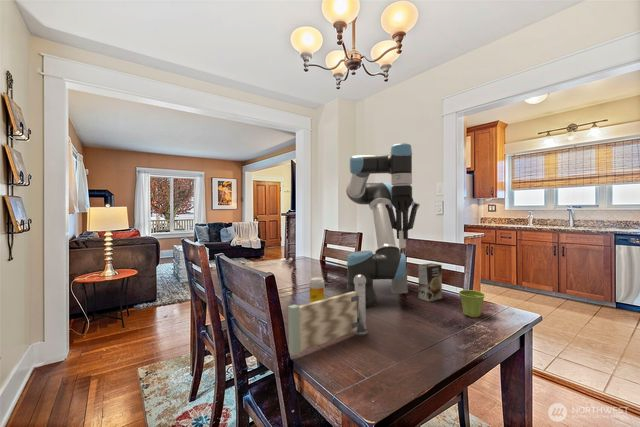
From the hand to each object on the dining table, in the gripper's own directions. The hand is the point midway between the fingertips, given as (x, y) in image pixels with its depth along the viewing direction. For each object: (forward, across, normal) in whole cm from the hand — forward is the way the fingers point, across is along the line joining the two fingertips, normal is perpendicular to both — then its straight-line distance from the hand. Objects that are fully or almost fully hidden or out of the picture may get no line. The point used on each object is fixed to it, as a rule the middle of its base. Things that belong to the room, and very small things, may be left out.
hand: (402, 247), depth 108 cm
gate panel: (+26, -12, -33) cm, 44 cm away
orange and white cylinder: (+29, -31, -14) cm, 44 cm away
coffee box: (+29, -1, +34) cm, 44 cm away
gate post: (+28, -8, -18) cm, 35 cm away
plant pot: (+29, +19, +23) cm, 41 cm away
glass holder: (+29, -20, +38) cm, 52 cm away
